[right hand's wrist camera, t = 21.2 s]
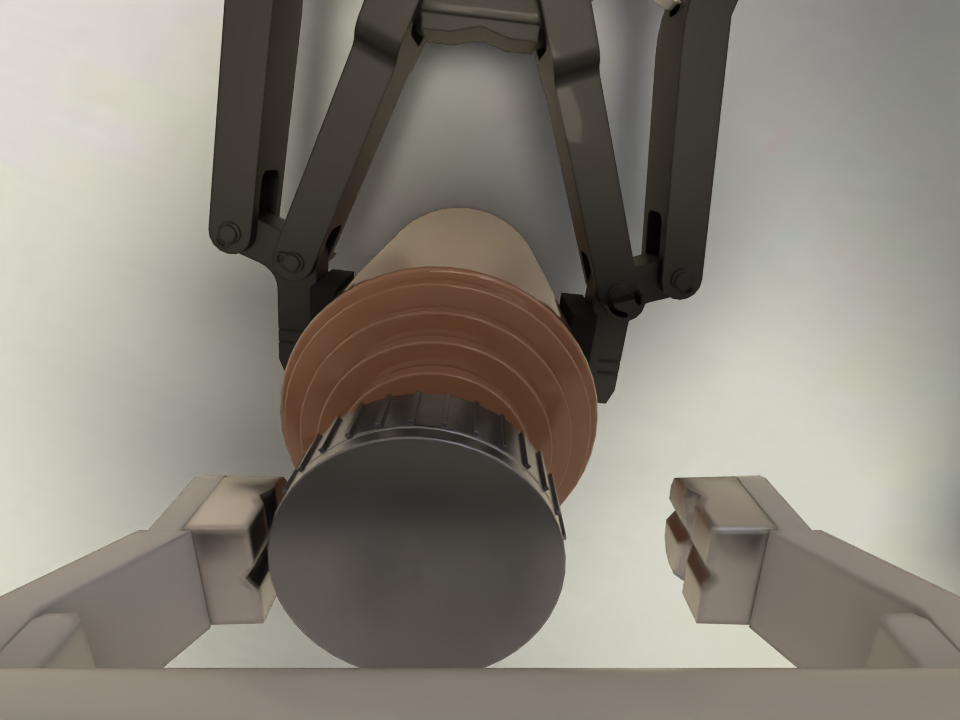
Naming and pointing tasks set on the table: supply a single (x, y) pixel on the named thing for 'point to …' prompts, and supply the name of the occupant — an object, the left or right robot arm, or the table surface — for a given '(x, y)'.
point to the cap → (419, 536)
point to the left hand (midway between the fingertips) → (441, 465)
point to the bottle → (449, 340)
